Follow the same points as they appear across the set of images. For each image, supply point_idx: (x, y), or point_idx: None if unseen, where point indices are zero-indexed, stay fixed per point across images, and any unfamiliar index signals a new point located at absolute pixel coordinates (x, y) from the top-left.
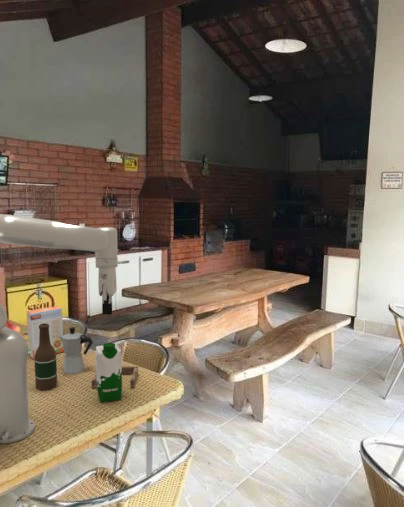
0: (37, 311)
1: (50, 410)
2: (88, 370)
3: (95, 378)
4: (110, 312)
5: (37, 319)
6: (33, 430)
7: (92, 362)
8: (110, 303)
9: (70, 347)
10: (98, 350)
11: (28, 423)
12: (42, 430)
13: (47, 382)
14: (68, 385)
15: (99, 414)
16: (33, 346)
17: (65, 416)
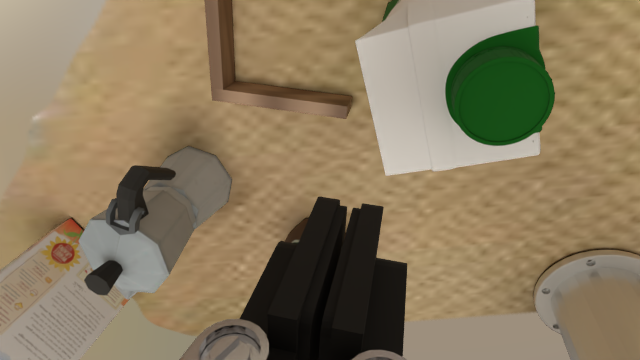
0: None
1: (491, 219)
2: (198, 132)
3: (324, 106)
4: (379, 230)
5: None
6: (622, 251)
7: (130, 124)
8: (385, 355)
9: (180, 240)
10: (474, 160)
11: (618, 275)
12: (623, 228)
13: None
14: (317, 185)
15: (583, 61)
16: (113, 314)
17: (552, 175)
